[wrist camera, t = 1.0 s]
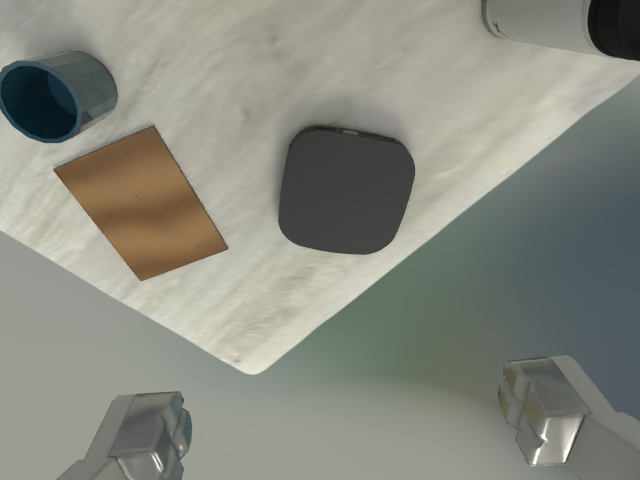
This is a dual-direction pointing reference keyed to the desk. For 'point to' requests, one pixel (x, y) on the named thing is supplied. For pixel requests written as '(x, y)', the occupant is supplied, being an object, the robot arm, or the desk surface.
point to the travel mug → (569, 24)
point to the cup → (56, 95)
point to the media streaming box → (344, 190)
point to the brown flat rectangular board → (143, 204)
